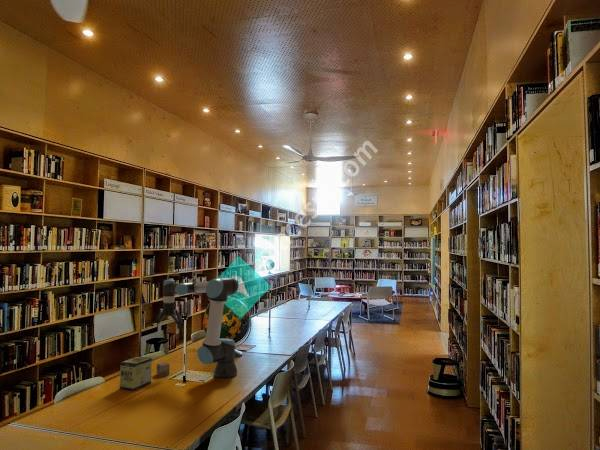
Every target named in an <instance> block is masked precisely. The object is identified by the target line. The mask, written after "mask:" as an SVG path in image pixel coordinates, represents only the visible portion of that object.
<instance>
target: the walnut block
mask: <svg viewBox="0 0 600 450" xmlns="http://www.w3.org/2000/svg"><path fill="white" fill-rule="evenodd" d="M170 365H171V364H170V363H168V362H167V361H164V362H160V363H156V375H157V376H158V377H165V376H169V375H170V368H171V367H170Z"/></svg>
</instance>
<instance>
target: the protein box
mask: <svg viewBox="0 0 600 450" xmlns="http://www.w3.org/2000/svg"><path fill="white" fill-rule="evenodd" d="M152 360H153V359H152V358H151V357H146V356H136V357H133V358H129V359H127V360H124V361H121V362H120V370H119V371H120V372H119V389H120V390H124V391H131V392H132V391H133V392H134V391H137V390H139V389H142V388H144V387H146V386H149V385H150V384H152V362H153V361H152Z"/></svg>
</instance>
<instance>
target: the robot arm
mask: <svg viewBox="0 0 600 450" xmlns="http://www.w3.org/2000/svg"><path fill="white" fill-rule="evenodd" d="M162 286H163V287H162V288H163V290H162V293H163V294H162V296H163V299H162V302H163V303H162V308H159V309H158V312H157V316H155V320H154V323H156V328H157V334H161V333H162V321H163V320H164V318H165V317H171V318H172V319H173V320H174V321H175V323H176V324H175V334H176V335H178V334H180V328H181V324H183V323H184V321H183V320H182V319H183V318H182V317H181V315H180V313H179V312H180V311H179V309H178V308H177V309H175V295H179V296H185V295H186V294H200V293H201V294H202V293H203V294H204V293H206V297H208V300H209V301H210V303H209V311H208V318H207V325H206V326H207V327H206V333H205V338H204V339H203V340H202V344H201V345H200V346H199V347H198V349H197V351H196V352H197V358H198V359H199V361H200V363H201V364H203V365H211V364H214V363H215V364H216V365H215V366H214V370H213V376H214V377H216V378H220V379H226V378H233V377H236V376H237V375H238V369H237V366H236V362H235V355H236V354H235V353H236V352H235V351H236V344H235V340H234V339H232V338H226V337H225V338H224V337H223V338H220V336H221V329H222V323H223V316H224V315H223V314H224V308H225V303H226V302H228V297H229V296H234V295H235V294H236V293H237V292H238V290H239V283H238V281H237V279H236V278H233V277H217V278H213V279H210V280H209V281H191V282H180V283H178V282H177V283H176V282H175V280H174V279H165V280H163V285H162Z"/></svg>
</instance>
